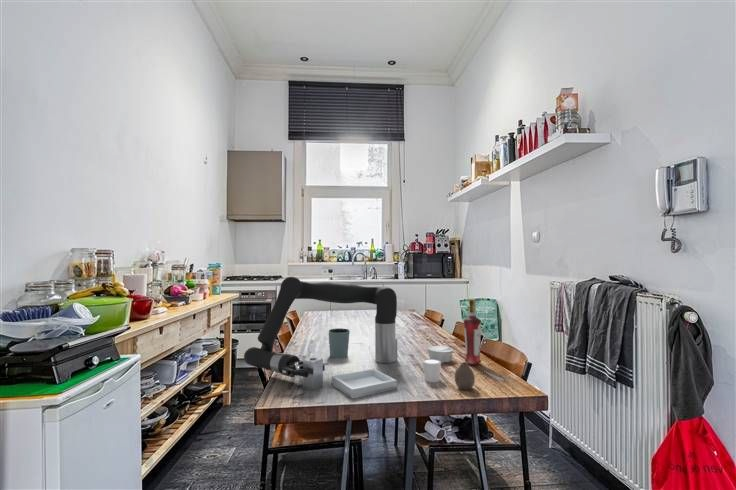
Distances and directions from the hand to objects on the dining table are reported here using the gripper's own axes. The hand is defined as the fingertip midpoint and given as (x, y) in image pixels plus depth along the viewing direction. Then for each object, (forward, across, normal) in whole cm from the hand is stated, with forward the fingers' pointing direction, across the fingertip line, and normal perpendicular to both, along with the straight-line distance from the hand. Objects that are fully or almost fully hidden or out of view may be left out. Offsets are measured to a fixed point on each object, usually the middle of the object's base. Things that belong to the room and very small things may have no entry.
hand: (316, 371), depth 133 cm
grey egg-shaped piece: (+44, +30, +6) cm, 54 cm away
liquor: (+37, +61, +6) cm, 71 cm away
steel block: (-2, 0, +6) cm, 6 cm away
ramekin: (+22, +58, +6) cm, 63 cm away
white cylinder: (+31, +31, +6) cm, 44 cm away
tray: (+13, +11, +6) cm, 18 cm away
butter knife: (+42, +54, +7) cm, 69 cm away
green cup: (-21, +39, +6) cm, 45 cm away
